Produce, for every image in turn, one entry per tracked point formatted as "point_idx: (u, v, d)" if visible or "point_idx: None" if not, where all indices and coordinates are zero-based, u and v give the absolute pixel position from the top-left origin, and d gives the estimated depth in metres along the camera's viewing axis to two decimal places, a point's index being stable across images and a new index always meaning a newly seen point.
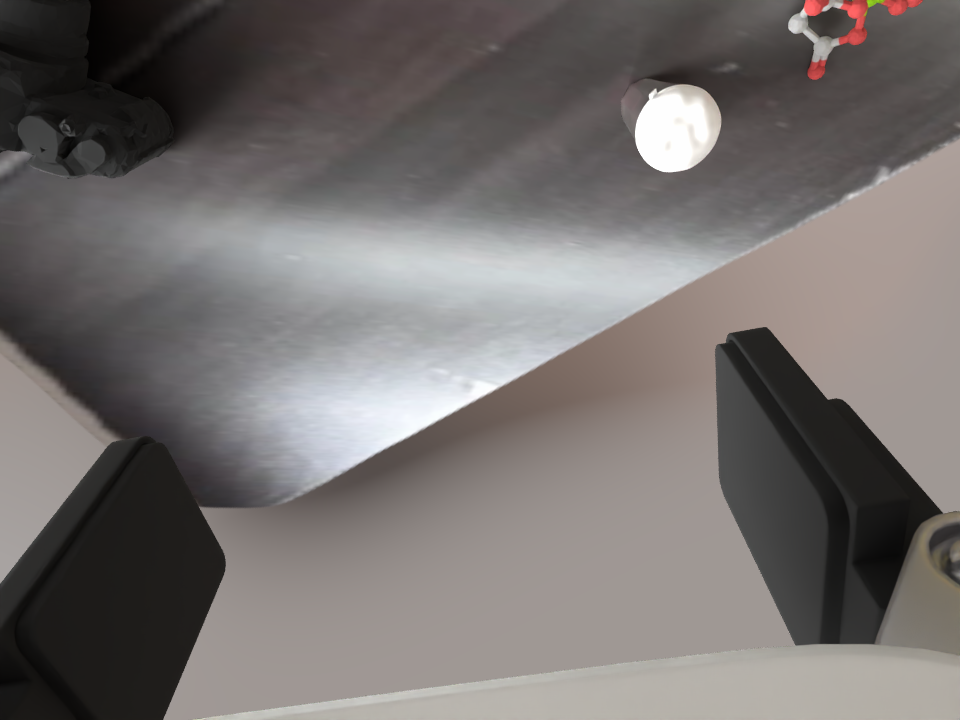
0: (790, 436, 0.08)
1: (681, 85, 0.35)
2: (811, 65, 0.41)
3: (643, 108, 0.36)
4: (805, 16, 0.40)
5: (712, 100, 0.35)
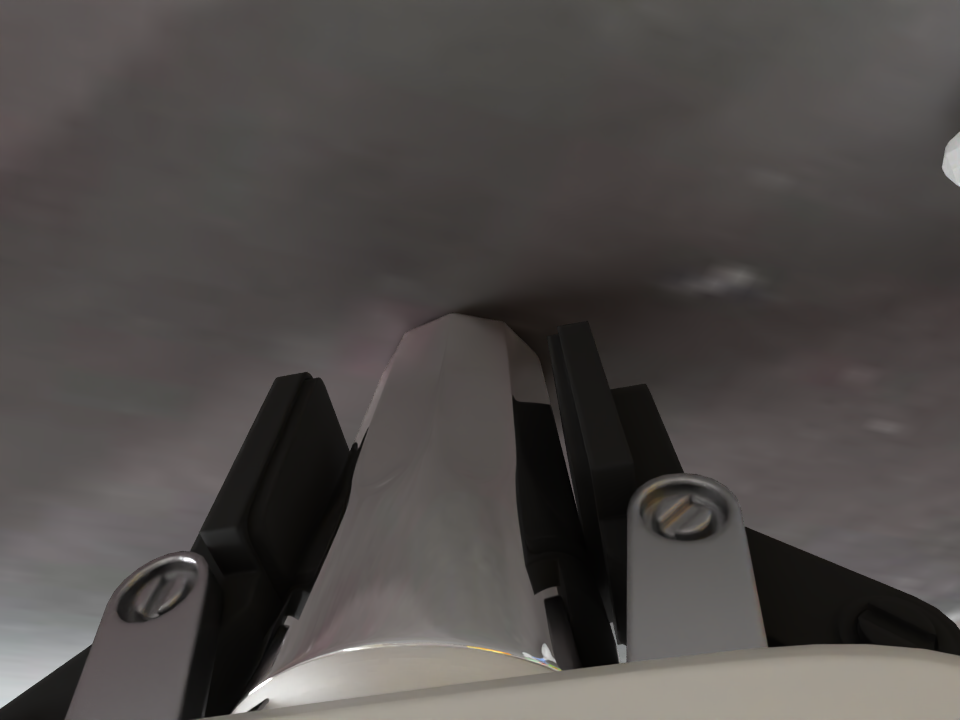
0: (569, 413, 0.09)
1: (401, 676, 0.06)
2: None
3: None
4: None
5: None
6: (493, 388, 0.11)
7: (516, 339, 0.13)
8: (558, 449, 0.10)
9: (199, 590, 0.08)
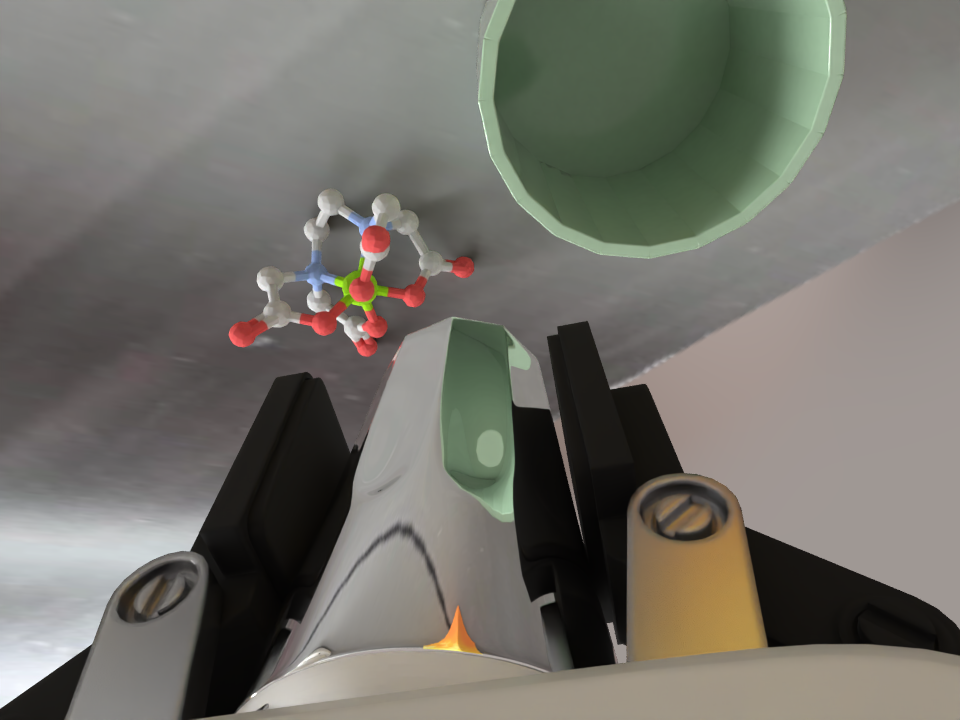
0: (569, 413, 0.09)
1: (400, 681, 0.06)
2: (355, 343, 0.32)
3: None
4: (319, 296, 0.31)
5: None
6: (492, 392, 0.11)
7: (515, 343, 0.13)
8: (557, 453, 0.11)
9: (199, 590, 0.08)
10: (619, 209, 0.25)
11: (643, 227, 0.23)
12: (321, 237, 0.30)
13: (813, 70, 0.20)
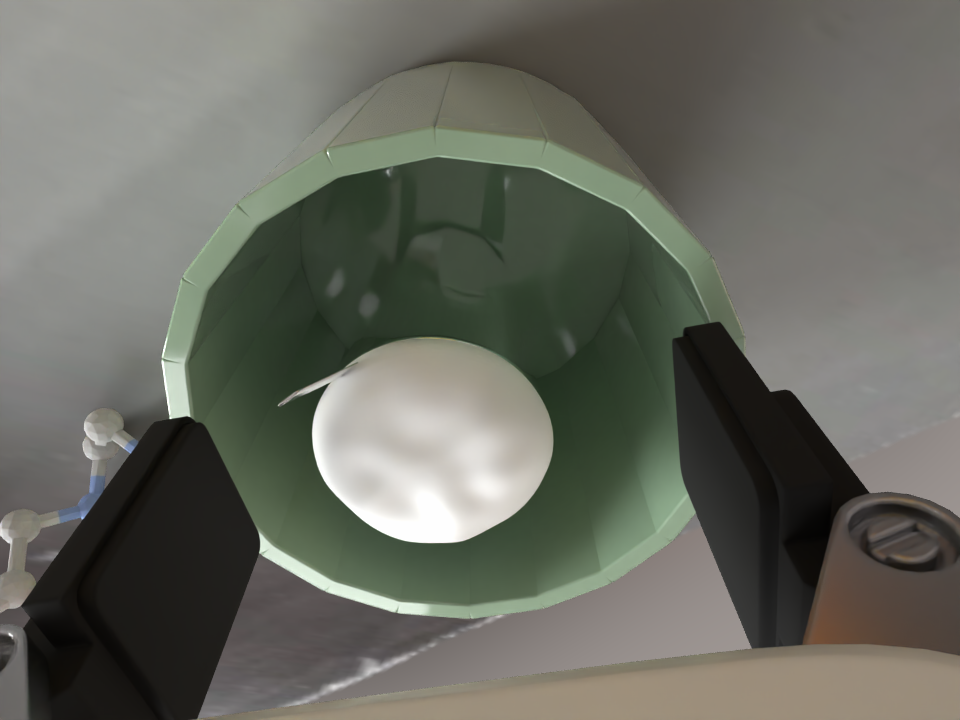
0: (731, 424, 0.08)
1: (428, 345, 0.12)
2: None
3: (326, 390, 0.12)
4: None
5: (522, 393, 0.12)
6: (473, 263, 0.16)
7: (488, 246, 0.19)
8: (512, 304, 0.16)
9: (9, 672, 0.07)
10: None
11: (477, 546, 0.16)
12: (104, 457, 0.23)
13: None
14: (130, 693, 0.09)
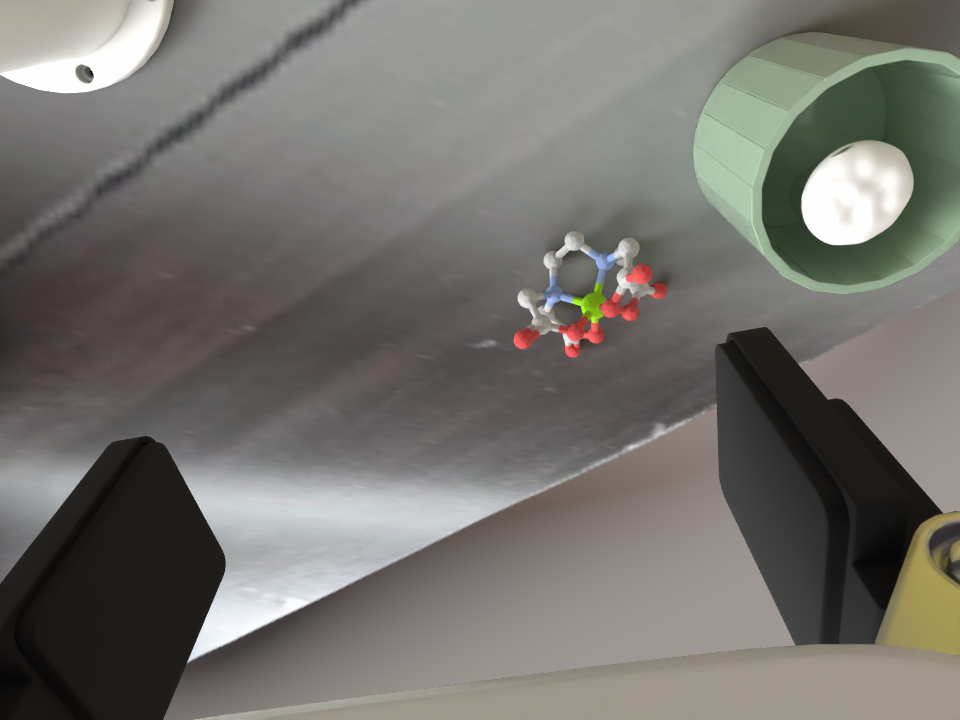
0: (790, 436, 0.08)
1: (873, 141, 0.28)
2: (565, 346, 0.42)
3: (819, 165, 0.28)
4: (548, 310, 0.40)
5: (908, 163, 0.28)
6: None
7: None
8: None
9: None
10: (808, 255, 0.34)
11: (835, 270, 0.32)
12: (557, 266, 0.39)
13: None
14: None
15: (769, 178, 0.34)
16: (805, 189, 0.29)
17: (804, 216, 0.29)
